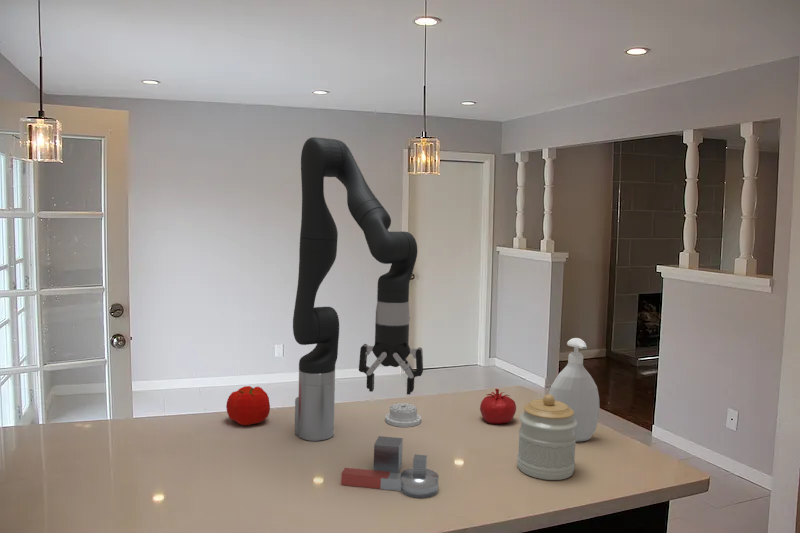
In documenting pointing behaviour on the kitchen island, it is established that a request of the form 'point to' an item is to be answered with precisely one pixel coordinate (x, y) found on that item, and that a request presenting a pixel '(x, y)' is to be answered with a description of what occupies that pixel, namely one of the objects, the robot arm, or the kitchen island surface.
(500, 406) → the pomegranate
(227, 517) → the kitchen island surface
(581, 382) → the soap bottle
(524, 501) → the kitchen island surface
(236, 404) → the tomato
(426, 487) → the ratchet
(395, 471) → the brushed metal cube
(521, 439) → the jar
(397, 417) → the mechanical component
